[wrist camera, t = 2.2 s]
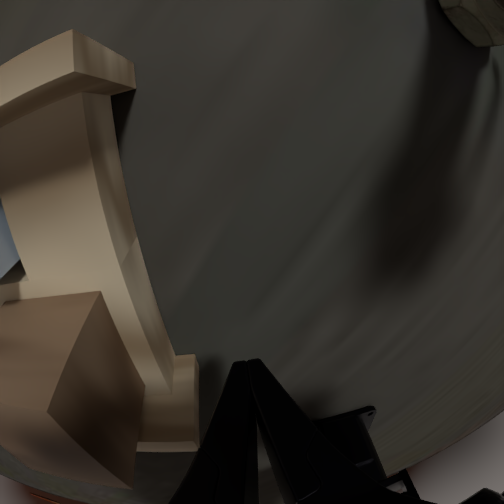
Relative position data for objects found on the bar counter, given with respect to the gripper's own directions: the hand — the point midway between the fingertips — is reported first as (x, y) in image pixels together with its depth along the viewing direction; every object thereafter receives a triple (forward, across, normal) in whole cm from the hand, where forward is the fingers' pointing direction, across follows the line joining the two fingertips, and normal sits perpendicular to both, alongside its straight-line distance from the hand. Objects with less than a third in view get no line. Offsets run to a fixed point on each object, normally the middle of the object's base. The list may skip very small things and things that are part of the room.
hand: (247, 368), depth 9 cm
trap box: (+4, +14, -3) cm, 14 cm away
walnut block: (+2, +7, 0) cm, 7 cm away
